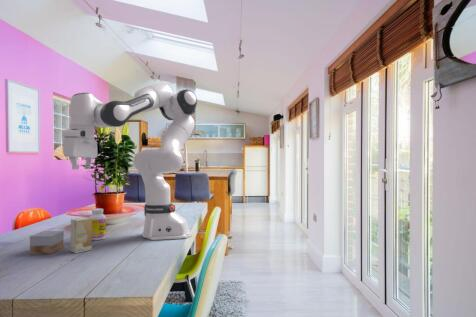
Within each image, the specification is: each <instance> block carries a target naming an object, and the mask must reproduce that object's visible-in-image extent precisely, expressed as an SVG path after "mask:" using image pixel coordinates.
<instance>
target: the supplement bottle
mask: <svg viewBox="0 0 476 317" xmlns="http://www.w3.org/2000/svg"><path fill="white" fill-rule="evenodd" d="M88 218H92V241H101V240H103V239H106V238H107V235H106V234H107V233H106V232H107V229H106V228H107V217H106V215H105V214H104V208H92V209H91V215H90V216H89V217H88Z"/></svg>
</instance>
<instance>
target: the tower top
mask: <svg viewBox="0 0 476 317" xmlns="http://www.w3.org/2000/svg"><path fill="white" fill-rule="evenodd" d="M62 240H64V230H42V231H41V232H37V233H35V234H32V235H30V236H29V247H30V246H52V245H54V244H56V243H58V242H60V241H62Z"/></svg>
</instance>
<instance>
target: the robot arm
mask: <svg viewBox="0 0 476 317" xmlns="http://www.w3.org/2000/svg"><path fill="white" fill-rule="evenodd" d="M69 102H70V104H69V118H70V122H69V128H67V129H65V130H64V129H63V131H62V132H61V133H62V134H61V135H62V136H61V137H63V138H62V154H63V157H65V158H69V160H70V164H71V170H79V168H80V165H79V164H78V159H79V158H85V164H84V169H85V170H90V169H91V166H92V162H93V159H97V157H98V156H99V155H98V142H97V140H96V139H95V127H97V128H100V129H103V128H112V127H114V128H118V127H122V126H124V125H125V124H126V123H127V122H128V121H129V120H130V119H131V118H132V117H133V116H136V115H137V114H141V113H146V112H151V111H153V110H154V111H155V110H157V109H159V111H160V112H161V114H162V116H163V117H164V118H165V119H166V120H168V121H172V122H171V123H170V125H169V126H168V127H167V128H166V130H165V131H164V132H163V133H162V135H161V137H160V143H161V146H160V147H159V148H148V149H142V150H141V151H138V152H137V153H136V154H135V155H134V156H133V157H134V158H133V165H134V168H135V169H136V171H138V172H139V174H140V175H141V178H142V181H143V184H144V192H145V193H144V196H145V198H144V199H145V204H144V208H143V210H144V211H143V214H144V227H143V229H142V230H143V231H142V234H141V236H142V238H145V239H148V240H151V241H158V240H159V241H161V240H178V239H188V238H190V237H191V236H192V235H193V234H194V231H193V230H192V229H190V228H189V225H188V222H187V219H186V218H185V217H183V216H182V215H181V214H179V213H178V212H176V204H173V203H172V201H171V200H172V199H171V198H172V197H171V196H172V195H171V186H170V184H169V183H168V182H167V181H166V180H165V178H164V175H163V174H173V173H177V172H179V171H180V170H181V169H182V167H183V163H184V157H183V155H182V153H181V151H182V149H183V148H184V146H185V144H186V143H187V142H188V140H189V139H190V137H191V135H192V134H193V131H194V128H195V126H196V124H195V120H194V118H193V117H192V115H194V113H195V111H196V108H197V105H198V99H197V95H196V94H195V93H194V91H193V90H191V89H189V88H188V89H182V90H180V91H178V92H177V93H173V91H172V89H171V87H170V86H169V85H168V84H166V83H157V84H151V85H148V86H147V85H146V86H144V87H142V88H141V89H138V90H136V92H134V95H133V98H131V99H129V100H126V101H119V100H112V101H109V102H106V103H104V102H102V101H100V100H99V99H97V98H96V97H95V96H94V95H93V93H91V92H77V93H75V94H73V95H72V96H71V97H70V101H69Z"/></svg>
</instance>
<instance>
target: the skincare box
mask: <svg viewBox="0 0 476 317" xmlns="http://www.w3.org/2000/svg"><path fill="white" fill-rule="evenodd" d="M92 241H93V240H92V218H89V217H87V216H84V217H80V218H79V217H78V218H72V219H70V252H72V253H74V254H80V253H83V252H88V251H92Z"/></svg>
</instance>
